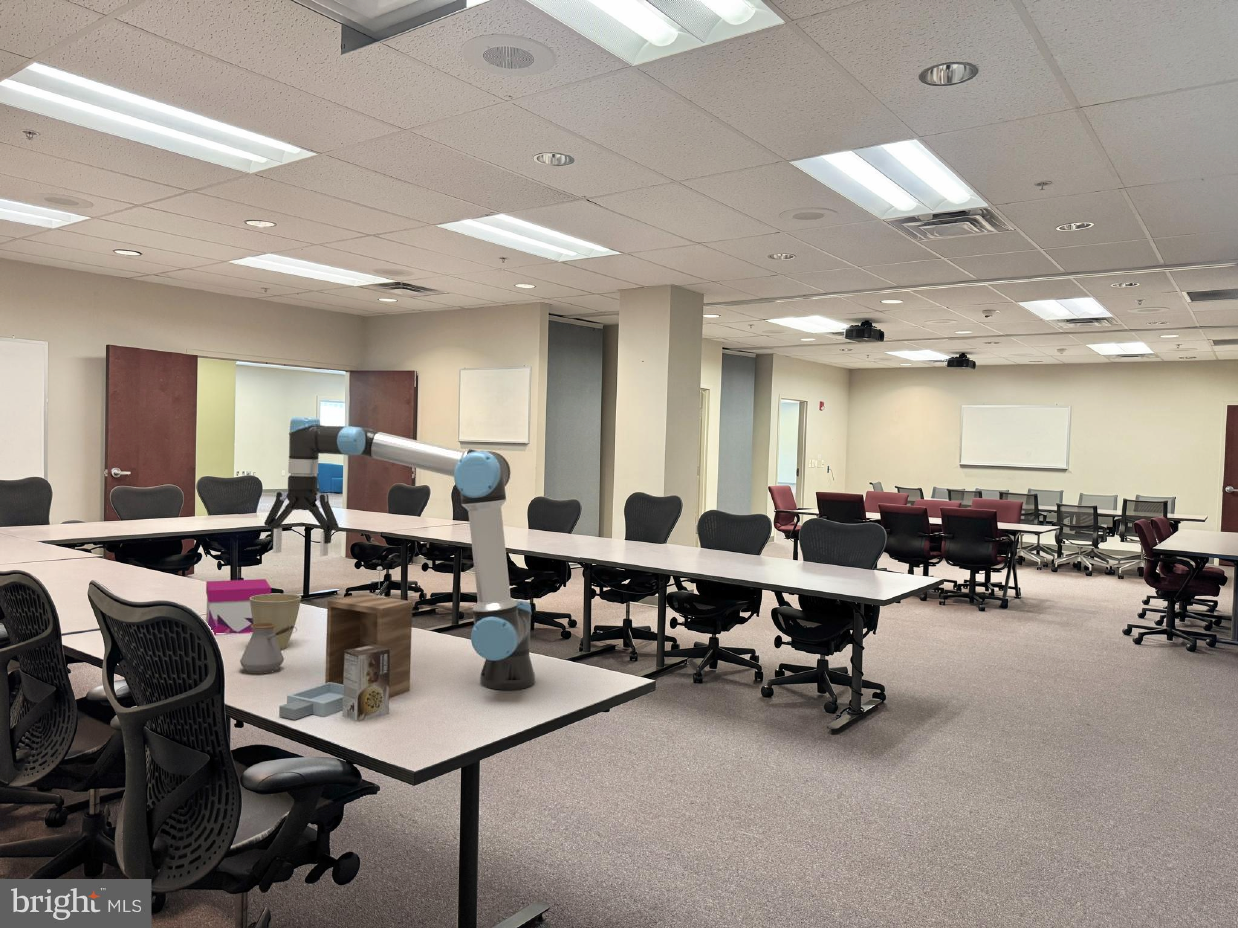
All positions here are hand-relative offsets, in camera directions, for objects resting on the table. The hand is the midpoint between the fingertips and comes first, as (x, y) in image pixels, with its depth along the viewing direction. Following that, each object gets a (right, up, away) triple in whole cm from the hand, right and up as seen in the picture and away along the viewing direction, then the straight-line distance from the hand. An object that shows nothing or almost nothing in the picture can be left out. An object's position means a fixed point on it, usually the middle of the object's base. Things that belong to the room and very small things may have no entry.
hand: (300, 554), depth 228 cm
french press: (+5, -34, +50) cm, 61 cm away
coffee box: (+24, -37, -23) cm, 50 cm away
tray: (+12, -36, -19) cm, 42 cm away
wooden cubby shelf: (+19, -36, -4) cm, 41 cm away
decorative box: (-46, -32, +64) cm, 85 cm away
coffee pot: (-12, -35, +10) cm, 38 cm away
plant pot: (-23, -34, +38) cm, 56 cm away
